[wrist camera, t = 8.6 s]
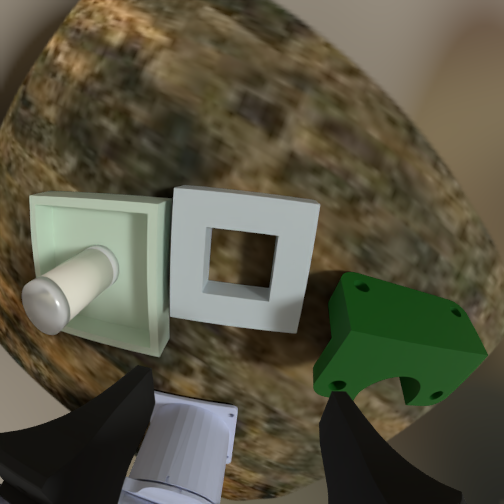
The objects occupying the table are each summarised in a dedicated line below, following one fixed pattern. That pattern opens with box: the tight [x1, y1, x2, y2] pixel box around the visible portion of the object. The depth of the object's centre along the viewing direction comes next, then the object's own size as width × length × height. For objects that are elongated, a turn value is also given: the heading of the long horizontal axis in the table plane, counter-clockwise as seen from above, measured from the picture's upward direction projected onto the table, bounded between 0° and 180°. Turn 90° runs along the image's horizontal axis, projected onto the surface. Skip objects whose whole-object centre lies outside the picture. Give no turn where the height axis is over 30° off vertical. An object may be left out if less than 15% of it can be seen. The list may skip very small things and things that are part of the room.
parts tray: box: [30, 191, 172, 357], centre depth 18 cm, size 10×10×2 cm
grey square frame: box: [170, 185, 320, 333], centre depth 18 cm, size 8×8×2 cm
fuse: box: [22, 245, 119, 335], centre depth 16 cm, size 3×3×7 cm
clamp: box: [313, 272, 488, 406], centre depth 17 cm, size 12×6×9 cm, turn 68°
